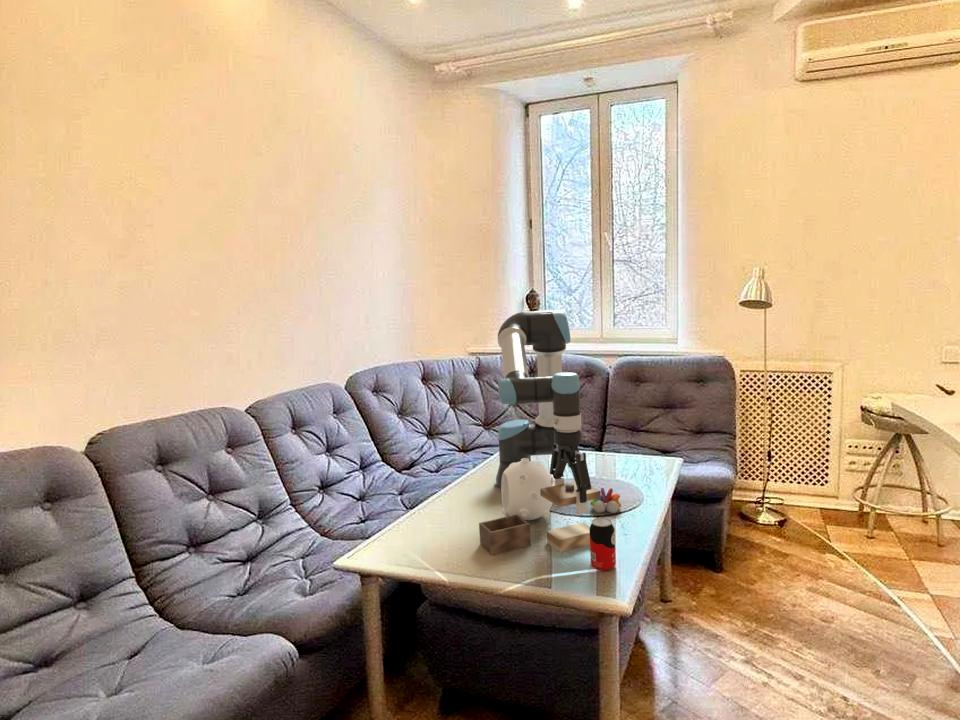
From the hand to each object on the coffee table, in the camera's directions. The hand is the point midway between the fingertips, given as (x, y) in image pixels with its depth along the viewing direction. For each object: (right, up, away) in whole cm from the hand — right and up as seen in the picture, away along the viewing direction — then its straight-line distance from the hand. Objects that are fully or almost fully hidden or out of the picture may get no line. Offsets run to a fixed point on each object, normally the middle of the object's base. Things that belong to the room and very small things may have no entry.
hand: (570, 506), depth 165 cm
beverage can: (+7, -13, -12) cm, 19 cm away
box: (-18, -12, +2) cm, 22 cm away
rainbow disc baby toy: (+15, -8, +26) cm, 31 cm away
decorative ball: (-10, -9, +21) cm, 25 cm away
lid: (0, +3, 0) cm, 3 cm away
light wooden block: (+1, -11, +1) cm, 11 cm away
